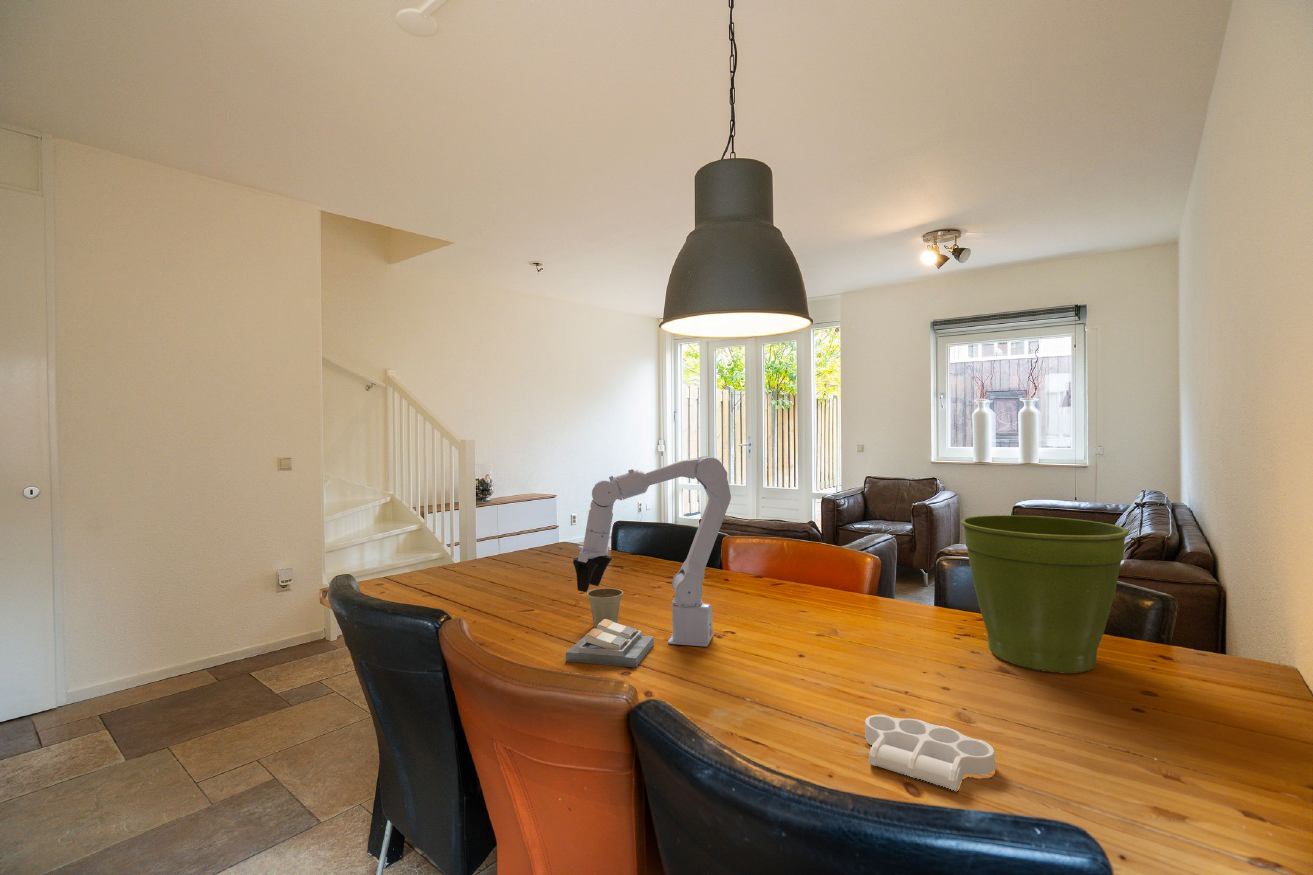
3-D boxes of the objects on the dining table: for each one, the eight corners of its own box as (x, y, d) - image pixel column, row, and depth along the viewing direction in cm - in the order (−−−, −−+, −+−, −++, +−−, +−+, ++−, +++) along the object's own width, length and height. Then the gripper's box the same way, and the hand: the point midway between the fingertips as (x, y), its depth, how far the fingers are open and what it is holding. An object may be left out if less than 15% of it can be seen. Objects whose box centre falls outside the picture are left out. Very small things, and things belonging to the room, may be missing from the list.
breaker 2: (634, 635, 138) (636, 628, 138) (628, 642, 133) (630, 635, 133) (603, 625, 140) (604, 618, 140) (596, 631, 136) (597, 624, 135)
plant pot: (962, 671, 120) (960, 529, 120) (963, 628, 146) (961, 512, 146) (1149, 699, 106) (1146, 539, 106) (1113, 646, 132) (1110, 518, 132)
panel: (653, 645, 138) (653, 631, 138) (636, 667, 124) (635, 652, 124) (589, 640, 142) (589, 626, 142) (565, 661, 129) (565, 646, 129)
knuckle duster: (846, 763, 87) (877, 725, 99) (984, 808, 76) (1001, 758, 88) (846, 741, 87) (877, 704, 99) (983, 782, 76) (1000, 736, 88)
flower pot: (622, 631, 148) (621, 597, 148) (584, 632, 148) (584, 597, 148) (625, 620, 157) (624, 587, 157) (589, 620, 157) (589, 588, 158)
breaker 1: (625, 645, 131) (626, 638, 131) (618, 652, 127) (620, 645, 127) (592, 634, 133) (593, 627, 133) (584, 641, 129) (586, 634, 129)
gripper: (593, 525, 148) (584, 579, 147) (570, 530, 134) (560, 589, 133) (619, 530, 146) (610, 585, 145) (599, 536, 132) (588, 597, 131)
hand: (588, 588), depth 139 cm, fingers open, 7 cm apart
